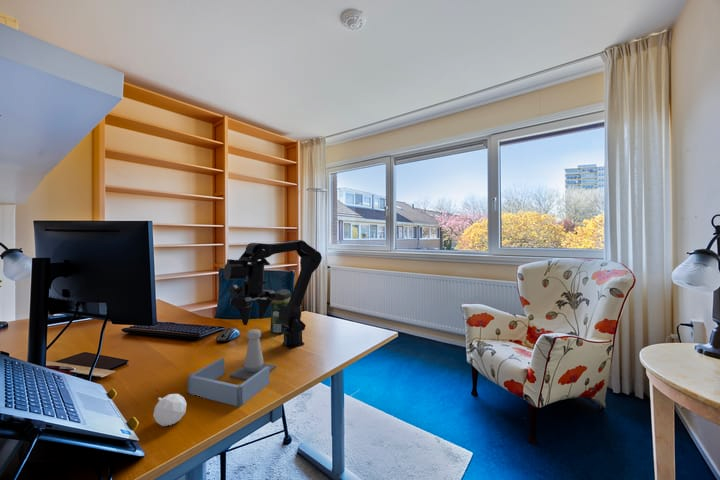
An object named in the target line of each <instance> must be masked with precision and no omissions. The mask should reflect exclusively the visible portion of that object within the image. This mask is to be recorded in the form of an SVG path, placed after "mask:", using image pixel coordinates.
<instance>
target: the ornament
mask: <svg viewBox="0 0 720 480" xmlns="http://www.w3.org/2000/svg"><path fill="white" fill-rule="evenodd" d="M157 400H158V401H157V403H156V405H155V406H154V411H153V415H152V416H153V419H154V420H155V423H157V424H159V425H160V426H161V427H166V426H168V425H169V426H173V425H174V424H176V423H177V422H179V421H181V419H182V418H183V417H184V415H185V414H186V413H187V412H186V411H187V404H188V403H187V401H186V399H185V397H184V396H183V395H181V394H180V393H169V394H167V395H165V396H164V397H163V398H162V397H158V398H157ZM172 424H173V425H172Z"/></svg>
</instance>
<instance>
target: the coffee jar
mask: <svg viewBox="0 0 720 480" xmlns="http://www.w3.org/2000/svg"><path fill="white" fill-rule="evenodd" d="M274 292H275V298H273V301H272V302H271V303H270V308H271V309H270V328H269V329H270V332H271V333H273V334H285V328H283V327H282V325H281V324H280V323H279V320H278V318H279V316H278V314H279V313H280V310H281V307H282V306H286V305H287V304H288V303H289V301H290V298H291V295H292V292H291V291H290V289H283V288H281V289H279V290H276V291H274Z"/></svg>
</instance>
